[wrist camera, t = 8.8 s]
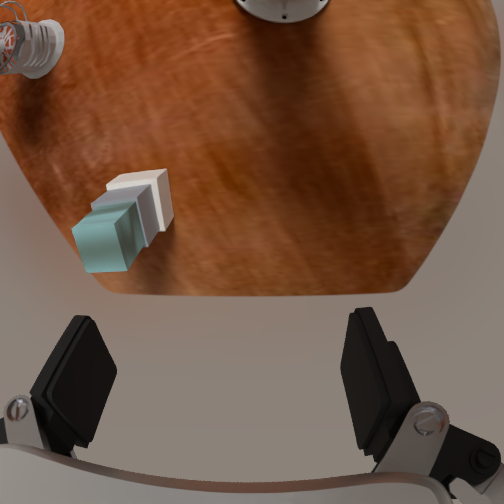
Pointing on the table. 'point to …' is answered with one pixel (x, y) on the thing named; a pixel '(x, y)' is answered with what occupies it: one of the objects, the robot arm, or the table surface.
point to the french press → (30, 45)
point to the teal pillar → (109, 237)
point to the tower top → (144, 206)
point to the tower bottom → (159, 191)
